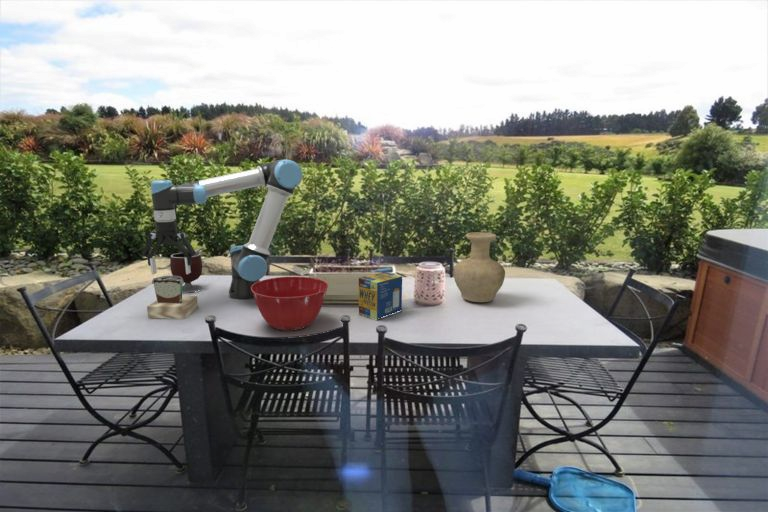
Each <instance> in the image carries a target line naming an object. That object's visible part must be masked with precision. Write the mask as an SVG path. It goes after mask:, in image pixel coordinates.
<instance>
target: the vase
mask: <svg viewBox="0 0 768 512" xmlns="http://www.w3.org/2000/svg"><path fill="white" fill-rule="evenodd" d="M465 238H466V239H467V240H469V241H470V243H471V247H470V254H469V255H470V256H469V257H468V258H464V259H462V260H461V261H459V262H457V263H456V264H455V266H454V268H453V279H454V282H455V285H456V286H457V289H458V291H460V295H461V298H462V299H464V300H466V301H469V302H473V303H487V302H491V301H494V300H495V298H496V295H497V293H498V292H499V290H501V289H502V286H503V285H504V281H505V277H506V270H505V268H504V266H503V265H502V264H501V263H499V262H498V261H496V260H495V259H492V258H491V257H490V245H491V242H492V241H495V239H497V234H494V233H490V232H481V231H479V232H477V231H476V232H474V231H473V232H467V233H466V234H465Z"/></svg>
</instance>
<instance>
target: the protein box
mask: <svg viewBox="0 0 768 512" xmlns="http://www.w3.org/2000/svg"><path fill="white" fill-rule="evenodd" d="M402 302H403V276H402V275H398V274H396V273H392V272H387V271H380V272H377V273H373V274H370V275H365V276H363V277H362V276H360V277H358V315H359V314H361V315H360V316H362V315H364V316H363V317H365V316H367V317H366V318H368V317H371V318H374V319H378V318H381V317H383V316H386V315H389V314H392V313H395V312H397V311H400V310H402V309H403V306H402V304H403V303H402ZM371 318H370V319H371ZM374 319H373V320H374Z"/></svg>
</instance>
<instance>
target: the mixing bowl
mask: <svg viewBox="0 0 768 512" xmlns="http://www.w3.org/2000/svg"><path fill="white" fill-rule="evenodd" d="M328 288H329V283H327V281H325V280H323V279H319V278H315V277H311V276H279V277H272V278H266V279H263V280H260V281H259V282H257V283H255V284H253V285H252V286H251V291H252V292H253V296H254V298H253V299H254V301H255V304H256V306H257V309H258V311H259V313H260V314H261V316H262V318H263V319H264V321H265V323H267V324H268V325H269V326H271V327H273V328H274V329H276V330H279V329H281V330H280V331H286V330H290V331H296V330H295V329H299V330H301V329H300V328H302V329H304V328H303V327H305V328H306V326H307V327H308V326H309V325H311V324H312V323H313V322H314V321H315V320H316V319H317V317H318V315H319V313H320V311H321V309H322V306H323V305H324V301H325V298H326V294H327V290H328Z"/></svg>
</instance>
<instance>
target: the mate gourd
mask: <svg viewBox="0 0 768 512" xmlns="http://www.w3.org/2000/svg"><path fill="white" fill-rule="evenodd" d="M202 249H204V246H200V247H199V248H197V249H196V250H195V252H196V255H194V256H192V265H190V269H191V273H189V274H186V267H185V258H186V256H185V255H184V254H183V253H182V252H178V253H173V254H171V255H170V260H169V268H170V271H171V276H180V277H182V279H183V281H184V285H182V294H190V293H189V292H193V293H196V292H195V291H198V290H200V291H202V290H203V286H202V285H198V284H192V283H193V282H194V281H196V280H198V279H199V278H200V277H201V275H202V273H203V260H202V256H201V253H200V251H201V250H202ZM201 289H202V290H201ZM198 292H199V291H198Z"/></svg>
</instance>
